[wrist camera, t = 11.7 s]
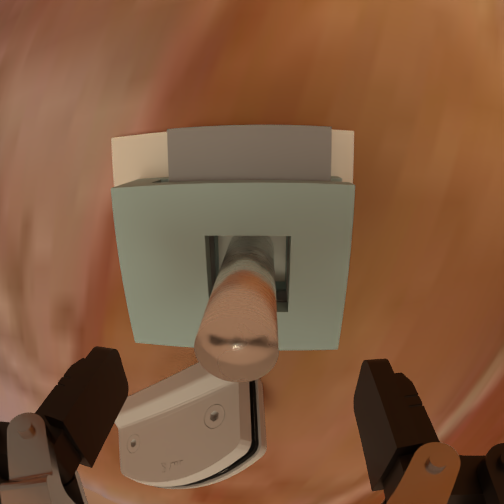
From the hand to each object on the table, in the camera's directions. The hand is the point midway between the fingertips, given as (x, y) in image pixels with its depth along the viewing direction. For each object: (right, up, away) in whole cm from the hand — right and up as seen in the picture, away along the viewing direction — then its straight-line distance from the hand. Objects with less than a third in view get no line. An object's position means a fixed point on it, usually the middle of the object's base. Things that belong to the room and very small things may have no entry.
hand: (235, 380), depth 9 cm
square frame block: (-1, +6, +12) cm, 14 cm away
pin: (0, +4, +12) cm, 12 cm away
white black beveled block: (-6, -11, +19) cm, 22 cm away
